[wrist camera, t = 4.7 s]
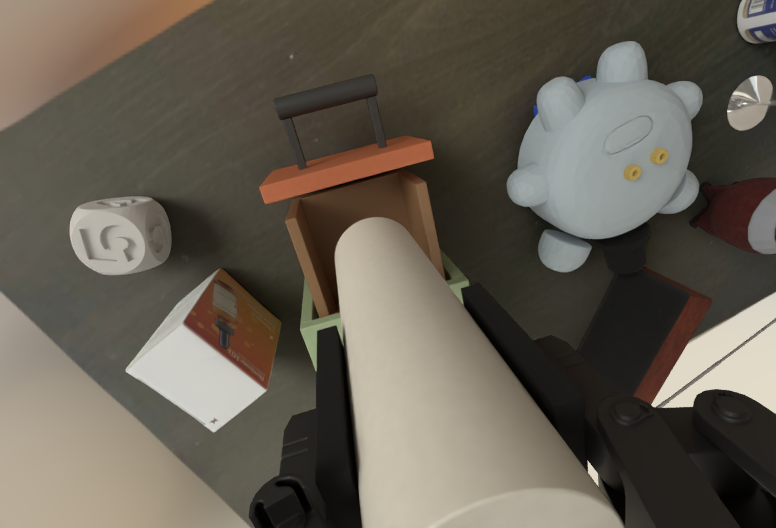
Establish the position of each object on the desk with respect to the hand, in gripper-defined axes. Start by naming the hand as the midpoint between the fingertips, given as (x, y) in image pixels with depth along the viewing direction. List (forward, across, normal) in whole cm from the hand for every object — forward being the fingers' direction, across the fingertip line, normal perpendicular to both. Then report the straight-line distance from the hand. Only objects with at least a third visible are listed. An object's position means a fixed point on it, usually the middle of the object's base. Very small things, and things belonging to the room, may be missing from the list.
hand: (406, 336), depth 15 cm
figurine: (+22, +22, -2) cm, 31 cm away
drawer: (+21, 0, +1) cm, 21 cm away
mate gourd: (+22, +37, -10) cm, 44 cm away
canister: (+9, 0, 0) cm, 9 cm away
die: (+22, -18, +4) cm, 29 cm away
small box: (+22, -14, -6) cm, 27 cm away
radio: (+22, +24, -20) cm, 38 cm away
